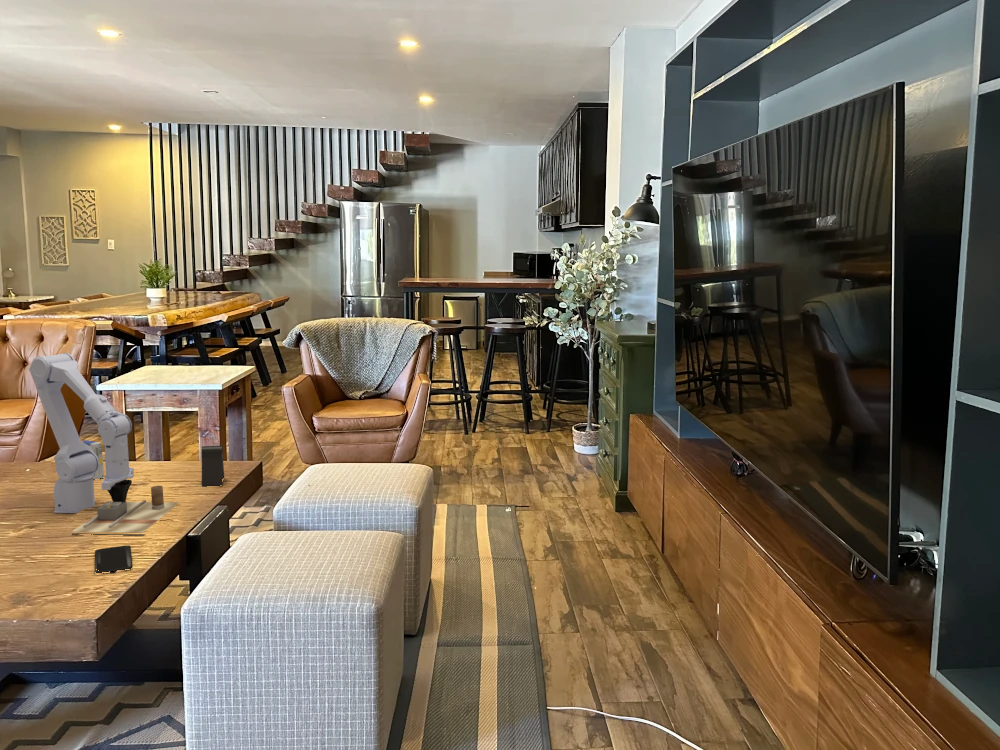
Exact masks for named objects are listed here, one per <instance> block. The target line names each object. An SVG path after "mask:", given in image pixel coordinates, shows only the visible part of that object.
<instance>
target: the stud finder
mask: <svg viewBox="0 0 1000 750" xmlns="http://www.w3.org/2000/svg"><path fill="white" fill-rule="evenodd" d="M127 502H128V501H126V502H113V501H107V502H105V503H104V504H102V505H101V506H99V507H98V508H97V510H96V511H97V514H96V515H98V520H117V519H118V518H120V517H121V516H122V515H124V514H125V513H127Z"/></svg>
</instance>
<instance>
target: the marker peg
mask: <svg viewBox="0 0 1000 750" xmlns="http://www.w3.org/2000/svg"><path fill="white" fill-rule="evenodd" d="M163 488H164V487H163V485H153V486H152V487H150V492H151V502H152V509H153V510H160V509H163V508H164V502H165V501H164V500H165V499H164V489H163Z"/></svg>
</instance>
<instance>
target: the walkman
mask: <svg viewBox="0 0 1000 750" xmlns="http://www.w3.org/2000/svg"><path fill="white" fill-rule="evenodd" d="M81 442H83V443H85V444H87V445H89V446H91V449H92V451H93V452H94V453H95V455H96V456H97V457H98V459H99V468H98V470H97V471H96V472H95V476H93V479H99V478H103V477H104V478H105V471H104V458H103V457H104V456H103V446H102V444H103V443H102V442H99V441H93V440H85V439H82V440H81ZM104 478H103V479H104ZM99 480H100V479H99Z"/></svg>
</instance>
